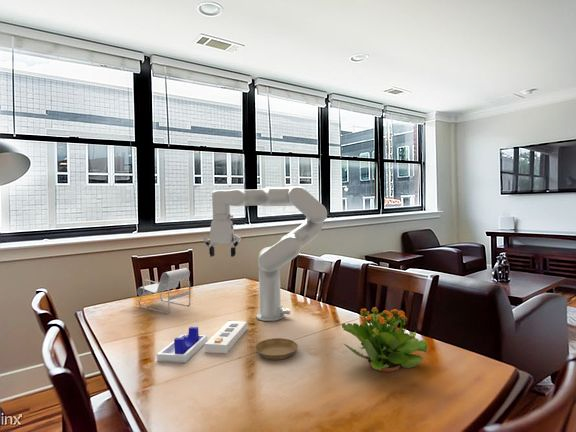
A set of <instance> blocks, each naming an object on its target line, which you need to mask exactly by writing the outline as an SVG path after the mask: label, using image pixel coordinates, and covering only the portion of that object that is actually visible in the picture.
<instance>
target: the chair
mask: <svg viewBox="0 0 576 432" xmlns="http://www.w3.org/2000/svg"><path fill="white" fill-rule="evenodd" d="M190 274H191V271H190V270H189V268H187V267H184V268H180V269H175V270H170V271H166V272H162V274H161V276H160V280H159V281H153V280H149V279H143V280H142V286H140V287H138V288H137V295H138V296H139V297H140V298H139V300H138V306H139V308H142V309H147V310H151V311H155V312H160V313H163V314H169V313H170V303H171V304H175V305H181V306H185V307H190V306H191V282H190V280H189V278H190ZM183 280H185V281H187V282H188V291H185V292H181V293H178V294H175V295H171V296H170V290H172V289H176V288H178V287H179V284H180V281H183ZM145 281H146V282H150V283H151V284H149V285H145ZM165 291H167V300H165V299H163V298H162V295H163V293H164V292H165ZM158 293H160V295H159V300H161V302H165V303H167V309H168V310H167V311H164V310H160V309H154V308H150V307H146V306H142V305H141V300H142V298H143V297H145V296H148V295H152V294H158ZM185 296H188V297H189V299H188V304H185V303H179V302H174V301H173V300H176V299H178V298H179V299H180V298H182V297H185Z"/></svg>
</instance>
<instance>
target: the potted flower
mask: <svg viewBox="0 0 576 432" xmlns="http://www.w3.org/2000/svg"><path fill="white" fill-rule="evenodd" d="M370 312H372V313H370ZM405 315H406V314H405V311H403V310H401V309H400V310H398V309H396V308H395V309H391V310H390V311H389V310H388V309H386V310H385V309H384V310H383V311H382V312H380V313H379V310H378V308H377V307H376V306H375V307H372V309H371V310H370V311H367V309H366V308H361V309H360V316H363V318H364V321H365V323H363V324H362V323H360V324H358V323H356V322H354V323H349V322H348V323H347V324H346V323H344V322H343V323H341V327H342V329H343V331H345V332H348V333H349V334H351V335H353V336H354V337H356V338H357V339H358V341H360V344H361V347H360V346H358V348H359V349H361V350H365V352H366V354H367V355H364V354H363V353H360V352H359V351H357V350H356V349H354V348H352V347H351V346H349V345H347V344H345V343H343V345H344V346H345V347H346V348H348V349H349V350H350V351H351V352H352V353H354V354H355V355H356V356H358V357H360V358H362V359H363V360H364V359H366V360H367V362H368V365H369V366H370V368H371V369H374V370H376V371H379V372H383V373H384V372H386V373H388V372H395V371H398V370H400V368H401V367H403V368H404V369H406V368H407V369H410V368H415V367H416V366H419V364H420V363H421V361H423V360H424V359H423V357H422V356H421V355H418V354H413V352H416V351H417V352H423V353H427V351H428V341H427V340H423V339H420V340H419V339H418V338H416V337H415V336H417V331H414V332H412V333H410V334H409V333H407V332H405V331H406V330H407V328H404V326H405V325H406V323H407V321H408V318H407V316H405ZM388 324H389V325H388ZM399 324H400V327H399V326H398V325H399ZM398 327H399V329H398ZM397 329H398V330H397Z"/></svg>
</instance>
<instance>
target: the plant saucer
mask: <svg viewBox="0 0 576 432" xmlns="http://www.w3.org/2000/svg"><path fill="white" fill-rule="evenodd" d="M297 349H298V344H297V342H296V341H294V340H292V339H288V338H281V337H276V338H267V339H264V340H261V341H259V342H257V344H255V347H254V350H255V351H256V352H257V353H258V354H259V355H260V357H262V358H264V359H267V360H273V361H274V360H275V361H278V360H283V359H284V360H285V359H286V358H289V357H290V356H292V355H294V353H295V352H296V351H297Z"/></svg>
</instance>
